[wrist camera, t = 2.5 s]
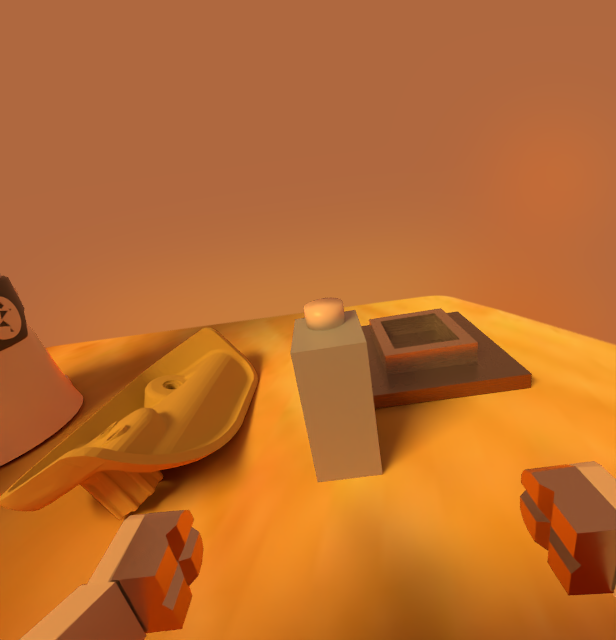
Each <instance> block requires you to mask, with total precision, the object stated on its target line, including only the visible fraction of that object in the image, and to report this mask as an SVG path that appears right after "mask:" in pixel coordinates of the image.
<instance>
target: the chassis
mask: <svg viewBox="0 0 616 640" xmlns="http://www.w3.org/2000/svg"><path fill="white" fill-rule="evenodd" d="M369 322H370V325H367V326H361V328H362V331H363V333H364V336H365V339H366V342H367V350H368V359H369V367H370V375H371V383H372V392H373V400H374V408H375V409H376V408H384V407H391V406H398V405H406V404H413V403H420V402H428V401H435V400H442V399H450V398H457V397H465V396H472V395H479V394H487V393H494V392H501V391H509V390H516V389H523V388H531V375H532V374H531V373H530V372H529V371H528V370H526V369H525V368H524V367H523V366H522V365H520V364H519V363H518V362H517V361H516V360H515V359H513V358H512V357H511V356H510V355H509V354H507V353H506V352H505V351H504V350H503V349H501V348H500V347H499V346H498V345H497V344H495V343H494V342H493V341H492V340H491V339H490V338H488V337H487V336H486V335H485V334H484V333H482V332H481V331H480V330H479V329H478V328H476V327H475V326H474V325H473V324H472V323H471V322H469V321H468V320H467V319H466V318H465V317H463V316H462V315H461V314H460V313H459V312H452V313H445V312H444V311H443V310H442V309H434V310H428V311H421V312H415V313H408V314H402V315H396V316H389V317H383V318H376V319H370V320H369Z"/></svg>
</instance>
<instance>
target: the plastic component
mask: <svg viewBox="0 0 616 640" xmlns="http://www.w3.org/2000/svg"><path fill="white" fill-rule="evenodd" d="M257 384H258V376H257V373H256V371H255V369H254V367H253V366H252V364H251V363H250V361H249V360H248V359H247V358H246V357H245V356H244V355H243V354H242V353H241V352H240V351H238V350H237V349H236V348H235V347H234V346H233V345H232V344H231V343H230V342H229V341H228V340H226V339H225V338H224V337H223V336H222V335H221V334H220V333H219V332H218V331H217V330H215V329H213V328H209V327H207V328H202V329H201V330H200V331H198V332H197V333H195V334H194V335H193V336H191V337H190V338H188V339H187V340H186V341H184V342H183V343H181V344H180V345H179V346H177V347H176V348H175V349H173V350H172V351H170V352H169V353H168V354H166V355H165V356H163V357H162V358H161V359H159V360H158V361H157V362H155V363H154V364H153V365H151V366H150V367H149V368H148V369H146V370H145V371H144V372H142V373H141V374H140V375H139V376H138V377H136V378H135V379H134V380H133V381H132V382H130V383H129V384H128V385H127V386H126V387H125V388H124V389H122V390H121V391H120V392H119V393H118V394H117V395H115V396H114V397H113V398H112V399H111V400H110V401H108V402H107V403H106V404H105V405H104V406H103V407H101V408H100V409H99V410H98V411H97V412H96V413H94V414H93V415H92V416H91V417H90V418H89V419H87V420H86V421H85V422H84V423H83V424H82V425H80V426H79V427H78V428H77V429H76V430H75V431H73V432H72V433H71V434H70V435H69V436H68V437H66V438H65V439H64V440H63V441H62V442H61V443H59V444H58V445H57V446H56V447H55V448H54V449H52V450H51V451H50V452H49V453H48V454H47V455H46V456H44V457H43V458H42V459H41V460H40V461H39V462H37V463H36V464H35V465H34V466H33V467H32V468H31V469H29V470H28V471H27V472H26V473H25V474H24V475H23V476H21V477H20V478H19V479H18V480H17V481H16V482H15V483H14V484H12V485H11V486H10V487H9V488H8V489H7V490H6V491H5V492H4V493H3V494H2V495H1V496H0V506H2V507H4V508H7V509H11V510H17V511H35V510H39V509H41V508H43V507H45V506H47V505H49V504H50V503H52V502H54V501H55V500H57V499H58V498H60V497H61V496H63V495H64V494H66V493H67V492H69V491H70V490H71V489H73V488H74V487H76V486H77V485H79V484H80V485H81V486H82V487H83V488H85V489H86V490H87V491H88V492H89V493H90V494H91V495H92V496H93V497H94V498H95V499H96V500H98V501H99V502H100V503H101V504H102V505H103V506H104V507H105V508H106V509H107V510H108V511H110V512H111V513H112V514H113V515H114V516H115V517H116V518H117V519H118V520H121V519H122V518H123V517H124V516H125V515H127V514H129V513H130V512H132V511H133V512H134V511H136V510H137V509H138V508H139V506H140V504H141V503H142V502H144V501H145V499H146V498H147V497H148V496H150V495H152V494H153V492H154V491H155V487H156V486H157V484H158V483H159V481H160V480H162V478H163V474H162V473H161V472H160V471H159V470H164V469H169V468H174V467H179V466H182V465H186V464H189V463H192V462H195V461H198V460H200V459H202V458H204V457H206V456H208V455H210V454H211V453H213V452H215V451H216V450H218V449H220V448H221V447H222V446H223V445H225V444H226V443H227V442H228V441H229V440H231V438H232V437H233V436H234V435H235V434H236V433H237V431H238V430H239V428H240V427H241V425H242V423H243V420H244V418H245V415H246V412H247V410H248V407H249V405H250V402H251V400H252V397H253V394H254V392H255V389H256V387H257Z"/></svg>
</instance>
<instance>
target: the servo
mask: <svg viewBox="0 0 616 640" xmlns="http://www.w3.org/2000/svg"><path fill="white" fill-rule="evenodd" d="M303 308H304V314H305V318H301V319H295V325H294V332H293V340H292V347H291V357H292V362H293V367H294V371H295V376H296V381H297V386H298V390H299V395H300V400H301V405H302V409H303V414H304V419H305V424H306V428H307V433H308V438H309V443H310V447H311V452H312V457H313V462H314V466H315V471H316V476H317V481H318V482H324V481H333V480H341V479H349V478H358V477H366V476H374V475H382V466H381V457H380V449H379V441H378V433H377V424H376V416H375V408H374V400H373V392H372V383H371V375H370V367H369V359H368V350H367V342H366V339H365V336H364V333H363V331H362V328H361V325H360V322H359V319H358V316H357V314H356V311H355V310H352V311H346V312H344V309H343V302H342V300H340V299H338V298H323V299H318V300H314V301H311V302H309V303H307V304H306V305H305V306H304V307H303Z"/></svg>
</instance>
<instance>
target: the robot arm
mask: <svg viewBox="0 0 616 640" xmlns="http://www.w3.org/2000/svg"><path fill="white" fill-rule="evenodd" d="M82 403H83V396H82V394H81V393H80V392H79V391H78V390H77V389H76V388H75V387H74V386H73V385H72V382H71V380H70V379H69V377H68V376H67V375H64V374H63V373H62V371H61V370H60V369H59V368H58V366H57V365H56V363H55V362H54V360H53V359H52V357H51V356H50V354H49V353H48V351H47V350H46V348H45V347H44V345H43V344H42V342H41V341H40V340H39V338H38V336H37V335H36V333H35V332H34V331H33V329H32V328H31V327H30V326H28V324H27V323H26V320H25V315H24V307H23V305H22V303H21V301H20V299H19V297H18V293H17V291H16V289H15V288H13V286H12V284H11V282H10V280H9V278H8V277H5V276H1V275H0V466H1V465H3V464H5V463H7V462H9V461H11V460H13V459H15V458H17V457H18V456H20V455H22V454H24V453H25V452H27V451H29V450H30V449H32V448H34V447H35V446H37V445H38V444H40V443H41V442H43V441H44V440H46V439H47V438H49V437H50V436H51V435H53V434H54V433H55V432H57V431H58V430H59V429H61V428H62V427H63V426H64V425H65V424H66V423H67V422H69V421H70V420H71V419H72V418H73V416H74V415H75V414H76V413H77V412H78V410H79V409H80V407H81V405H82ZM521 483H522V485H523V486H524V488H525V489H526V491H525V492H524V493H523V494H522V495H521V496H520V510H521V513H522V517H523V521H524V523H525V525H526V527H527V529H528V531H529V533H530V535H531V536H532V538H533V540H534V541H535V542H536V543H537V544H539V545H540V546H542V547H543V548H545V549H546V550H548V561H547V562H548V564H549V565H550V567H551V569H552V570H553V572H554V573H555V575H556V577H557V578H558V580H559V581H560V583H561V585H562V586H563V588H564V589H565V591H566V592H567V594H568V595H585V594H603V593H614V594H613V596H615V597H616V479H615V478H614V477H613V476H612V475H611V474H610V473H608V472H607V471H606V470H605V469H604V468H603V467H602V466H601V465H600V464H598V463H596V462H594V461H592V462H584V463H576V464H569V465H567V464H565V465H557V466H550V467H542V468H534V469H527V470H524V471H523V472H522V474H521ZM193 521H194V518H193V516H192V514H191V512H190V510H181V511H169V512H158V513H149V514H138V515H130V516H129V517H128V518H127V519H125V520H124V522H123V523H122V525H121V527H120V528H119V530H118V532H117V533H116V535H115V537H114V539H113V540H112V542H111V544H110V545H109V547H108V549H107V551H106V552H105V554H104V556H103V558H102V559H101V561H100V563H99V564H98V566H97V568H96V570H95V571H94V573H93V575H92V576H91V578H90V580H89V582H88V583H87V584H84V585H80V586H79V587H78V588H77V589H76V590H75V591H74V592H72V593H71V594H70V595H69V596H68V597H67V598H66V599H65V600H63V601H62V602H61V603H60V604H59V605H58V606H57V607H56V608H54V609H53V610H52V611H51V612H50V613H49V614H48V615H47V616H45V617H44V618H43V619H42V620H41V621H40V622H39V623H38V624H36V625H35V626H34V627H33V628H32V629H31V630H30V631H29V632H27V633H26V634H25V635H24V636H23V637H22V638H21V639H20V640H144V638H145V637H146V634H145V633H152V632H160V631H169V630H177V629H182V628H183V624H184V621H185V618H186V615H187V611H188V608H189V605H190V602H191V598H192V593H191V590H190V587H189V586H190V584H191V583H192V582H193V581H194V580H195V579H196V578H197V576H198V575H199V572H200V568H201V565H202V558H203V543H202V538H201V535H200V533H199V532H198V531H197V530H195V529H194V528H192V524H193Z"/></svg>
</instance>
